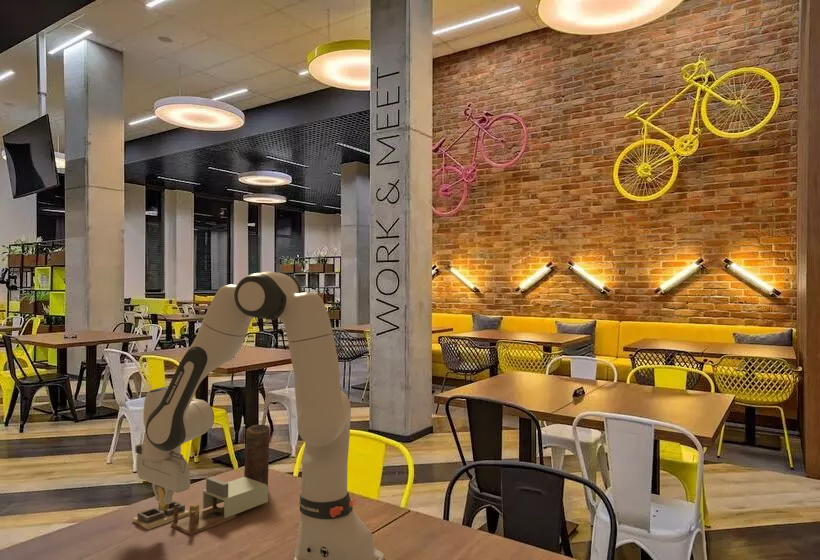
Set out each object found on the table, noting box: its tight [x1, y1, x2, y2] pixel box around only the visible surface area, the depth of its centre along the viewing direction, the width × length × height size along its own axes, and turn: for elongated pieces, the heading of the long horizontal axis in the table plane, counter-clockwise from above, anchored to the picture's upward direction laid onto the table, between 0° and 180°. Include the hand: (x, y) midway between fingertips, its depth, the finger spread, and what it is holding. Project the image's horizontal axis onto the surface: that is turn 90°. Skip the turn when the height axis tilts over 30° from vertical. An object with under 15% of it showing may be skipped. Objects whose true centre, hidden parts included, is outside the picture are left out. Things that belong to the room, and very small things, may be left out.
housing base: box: [170, 496, 237, 536], centre depth 156 cm, size 9×14×6 cm, turn 143°
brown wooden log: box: [243, 424, 270, 487], centre depth 178 cm, size 8×7×20 cm
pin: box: [158, 486, 169, 511], centre depth 149 cm, size 2×2×6 cm
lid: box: [202, 476, 269, 518], centre depth 164 cm, size 11×15×9 cm
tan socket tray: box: [132, 500, 190, 530], centre depth 157 cm, size 8×12×2 cm, turn 143°
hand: (163, 501), depth 149 cm, fingers closed on pin, 2 cm apart
